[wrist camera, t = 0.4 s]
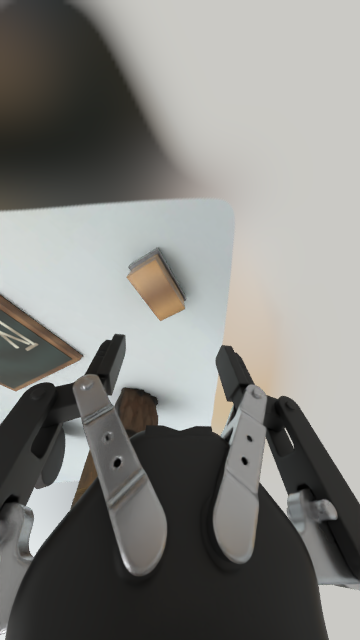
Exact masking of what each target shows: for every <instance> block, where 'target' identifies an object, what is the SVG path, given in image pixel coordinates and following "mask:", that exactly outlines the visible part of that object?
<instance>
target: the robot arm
mask: <svg viewBox="0 0 360 640" xmlns="http://www.w3.org/2000/svg"><path fill="white" fill-rule="evenodd" d="M125 351H126V342H125V335H121V334H115V335H114V336H113V339H112V340H106V341H105V342H103V343H102V344H101V346H100V347H99V349H98V351H97V353H96V356H95V357H94V359H93V360H92V362H91V364H90V366H89V368H88V370H87V372H86V373H85V375H84V376H82V377H80V378H79V379H77V380H76V382H74V383H71V384H66V385H62V386H57V387H55V386H54V385H53V384H52V383H48V382H45V383H40V384H37V385H35V386H33V387H31V388H29V389H28V390H27V391H26V392H25V393H24V394H23V395H22V397H21V398H20V399H19V401H18V402H17V403H16V405H15V406H14V407H13V409H12V410H11V411H10V413H9V414H8V415H7V417H6V418H5V419H4V421H3V422H2V423H1V425H0V635H1V634H4V633H6V638H5V640H329V638H328V634H327V630H326V626H325V622H324V617H323V612H322V606H321V600H320V593H319V587H318V585H336V586H340V587H345V588H350V589H356V590H360V504H359V502H358V501H357V499H356V498H355V496H354V494H353V493H352V491H351V489H350V488H349V486H348V485H347V483H346V481H345V480H344V478H343V476H342V475H341V473H340V472H339V470H338V468H337V467H336V465H335V464H334V462H333V460H332V459H331V457H330V456H329V454H328V453H327V451H326V449H325V448H324V446H323V444H322V443H321V442H320V440H319V438H318V436H317V435H316V433H315V432H314V430H313V428H312V427H311V425H310V423H309V422H308V420H307V419H306V417H305V416H304V414H303V412H302V411H301V409H300V408H299V406H298V405H297V404H296V402H294V401H293V400H292V399H290V398H289V397H286V396H281V397H280V398H279V399H276V398H273V397H270V396H267V395H266V394H265V392H264V391H263V390H262V389H261V388H260V387H258V386H256V385H255V384H254V382H253V380H252V378H251V377H250V374H249V372H248V370H247V369H246V366H245V364H244V362H243V360H242V358H241V357H240V356H239V355H238V354H237V353H235V352H234V350H233V348H232V347H231V346H225V345H222V346H221V348H220V350H219V352H218V354H217V357H216V366H217V370H218V373H219V376H220V379H221V383H222V386H223V389H224V393H225V396H226V399H227V401H230V402H233V404H234V405H233V407H232V409H231V412H230V414H229V417H228V420H227V423H226V425H225V428H224V430H223V432H222V434H221V436H219V435H218V434H216V433H214V432H212V428H211V427H209V426H195V427H192V428H189V429H185V430H182V431H178V430H175V429H172V428H169V427H166V426H159V425H146V429H145V430H144V431H141V432H139V433H137V434H135V435H133V436H132V437H131V438H129V437H128V435H127V433H126V431H125V429H124V427H123V424H122V422H121V420H120V418H119V416H118V414H117V411H116V409H115V407H114V406H113V405H112V404H111V402H110V400H109V398H108V396H107V395H112V393H113V390H114V387H115V384H116V381H117V378H118V375H119V371H120V368H121V365H122V362H123V359H124V356H125ZM79 417H81V419H82V424H83V427H84V431H85V434H86V437H87V441H88V444H89V448H90V451H91V454H92V458H93V461H94V464H95V468H96V471H97V474H98V476H97V478H96V479H95V480H94V481H93V483H92V484H91V485H90V486H89V487H88V489H87V490H86V491H85V492H84V494H83V495H82V496H81V497H80V499H79V500H78V501H77V502H76V503H75V505H74V506H73V507H72V508H71V510H70V511H69V512H68V513H67V515H66V516H65V517H64V518H63V520H62V521H61V522H60V523H59V524H58V526H57V527H56V528H55V530H54V531H53V532H52V533H51V534H50V536H49V537H48V538H47V539H46V541H45V542H44V543H43V545H42V546H41V547H40V549H39V550H38V552H37V553H36V555H35V556H34V557H33V556H32V555H31V554H30V551H29V537H30V533H31V529H32V526H33V521H34V515H33V511H32V510H31V509H30V508H29V507H26V504H27V502H28V500H29V498H30V495H31V493H32V491H33V489H34V487H35V484H36V482H37V480H38V478H39V476H40V473H41V471H42V469H43V467H44V465H45V462H46V460H47V458H48V456H49V454H50V451H51V449H52V447H53V445H54V443H55V440H56V438H57V436H58V434H59V432H60V429H61V427H62V425H63V423H64V422H66V421H69V420H73V419H76V418H79ZM284 428H286V430H287V431H288V433H289V435H290V438H291V440H292V442H293V444H294V448H293V446H292V444H291V442H290V440H289V437H288V435H287V433H286V431H285V429H284ZM265 437H266V439H267V441H268V444H269V447H270V449H271V452H272V454H273V457H274V459H275V462H276V465H277V467H278V470H279V472H280V475H281V478H282V480H283V483H284V485H285V488H286V491H287V493H288V500H287V505H288V508H287V514H288V517H289V518H288V517H287V516H286V515H285V513H284V512H283V511H282V510H281V508H280V507H279V506H278V505H277V503H276V502H275V501H274V500H273V498H272V497H271V496H270V495H269V493H268V492H267V491H266V490H265V488H264V487H263V486H262V485H261V483H260V482H259V480H260V473H261V465H262V458H263V451H264V444H265ZM289 519H290V520H291V521H290V520H289Z"/></svg>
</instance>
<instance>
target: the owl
mask: <svg viewBox="0 0 360 640" xmlns="http://www.w3.org/2000/svg"><path fill="white" fill-rule="evenodd" d="M157 404H158V400H157V398H156V397H153V396H150V394H149V393H146V392H144V390H140V389H130V388H123V389H122V390H121V394H120V396H119V398H118V400H117V402H116V404H115V406H114V407H115V409H116V411H117V414H118V416H119V418H120V420H121V422H122V424H123V427H124V429H125V431H126V433H127V435H128V437H129V438H131V437H132V436H133V435H135V434H137V433H139V432H141V431H144V430H145V429H146V425H158V415H157V410H156V405H157Z"/></svg>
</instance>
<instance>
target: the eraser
mask: <svg viewBox="0 0 360 640" xmlns="http://www.w3.org/2000/svg"><path fill="white" fill-rule="evenodd" d="M129 269H130V270H131V272H130V273H129V274H128V276H127V278H128V280H129V281H130V282H131V284H132V285H133V286H134V288H135V289H136V290H137V291H138V293H139V294H140V295H141V297H142V298H143V299H144V301H145V302H146V303H147V305H148V306H149V307H150V308H151V310H152V311H153V312H154V314H155V315H156V316H157V318H158V319H159V320H160V321H162V320H164V319H166V318H168V317H170V316H172V315H174V314H176V313H178V312H180V311H182V310H184V309H185V305H184V301H185V300H186V296H185V294H184V292H183V290H182V289H181V287H180V285H179V283H178V282H177V280H176V278H175V276H174V275H173V273H172V271H171V269H170V268H169V266H168V264H167V262H166V261H165V259H164V257H163V255H162V254H161V252H160V250H159V248H156V249H154V250H153V251H151V252H149V253H148V254H146V255H145V256H143V257H141V258H140V259H138V260H137V261H135V262H133V263H132V264H130V266H129Z"/></svg>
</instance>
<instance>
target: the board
mask: <svg viewBox="0 0 360 640" xmlns="http://www.w3.org/2000/svg"><path fill="white" fill-rule="evenodd" d="M82 356H83V355H81V354H80V353H79V352H77V351H76V350H74V349H73V348H72V347H70V346H69V345H68V344H66V343H65V342H63V341H62V340H61V339H59V338H58V337H57V336H55V335H54V334H53V333H51V332H50V331H48V330H47V329H46V328H44V327H43V326H42V325H40V324H39V323H37V322H36V321H35V320H33V319H32V318H31V317H29V316H28V315H27V314H25V313H24V312H22V311H21V310H20V309H18V308H17V307H16V306H14V305H13V304H11V303H10V302H9V301H7V300H6V299H5V298H3V297H2V296H1V295H0V385H3V386H5V387H7V388H9V389H11V390H14V391H18V390H20V389H22V388H24V387H26V386H28V385H30V384H32V383H34V382H36V381H38V380H40V379H42V378H44V377H46V376H48V375H50V374H52V373H54V372H56V371H59V370H61V369H63V368H65V367H67V366H69V365H71V364H73V363H75V362H77V361H79V360H80V359H81V358H82Z"/></svg>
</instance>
